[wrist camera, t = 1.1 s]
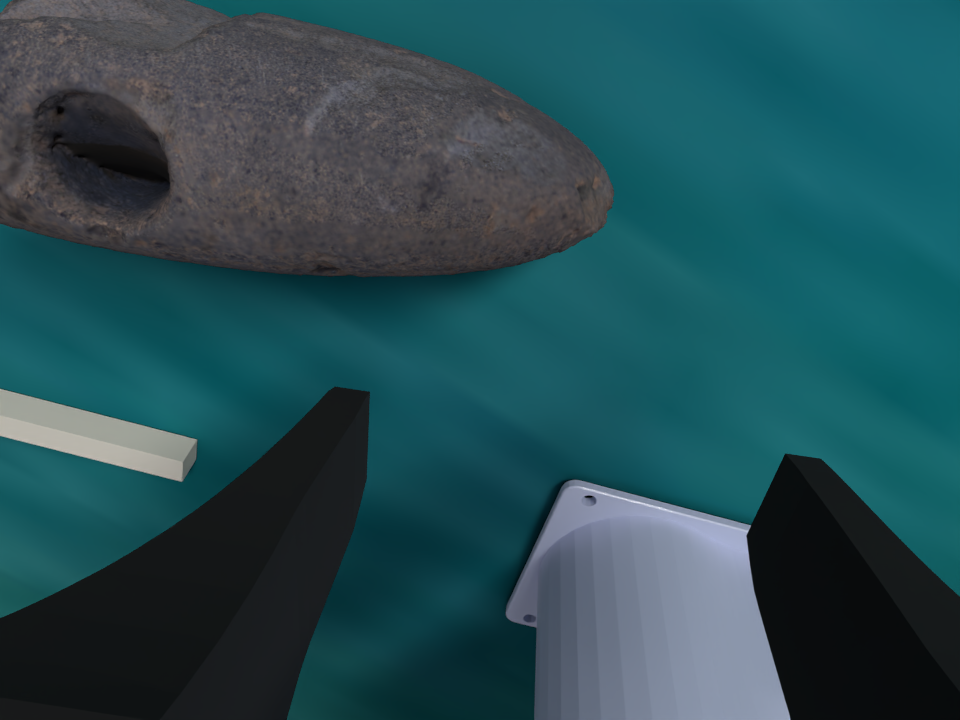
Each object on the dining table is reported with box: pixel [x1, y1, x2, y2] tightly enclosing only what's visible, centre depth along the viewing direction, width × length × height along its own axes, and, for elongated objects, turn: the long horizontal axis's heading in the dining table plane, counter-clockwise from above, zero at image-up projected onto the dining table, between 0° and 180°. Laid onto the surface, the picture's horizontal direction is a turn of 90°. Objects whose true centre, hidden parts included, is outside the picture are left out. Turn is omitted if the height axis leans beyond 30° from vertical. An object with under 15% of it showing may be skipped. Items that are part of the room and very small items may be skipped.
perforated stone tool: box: [0, 0, 614, 277], centre depth 16 cm, size 15×5×7 cm, turn 79°
